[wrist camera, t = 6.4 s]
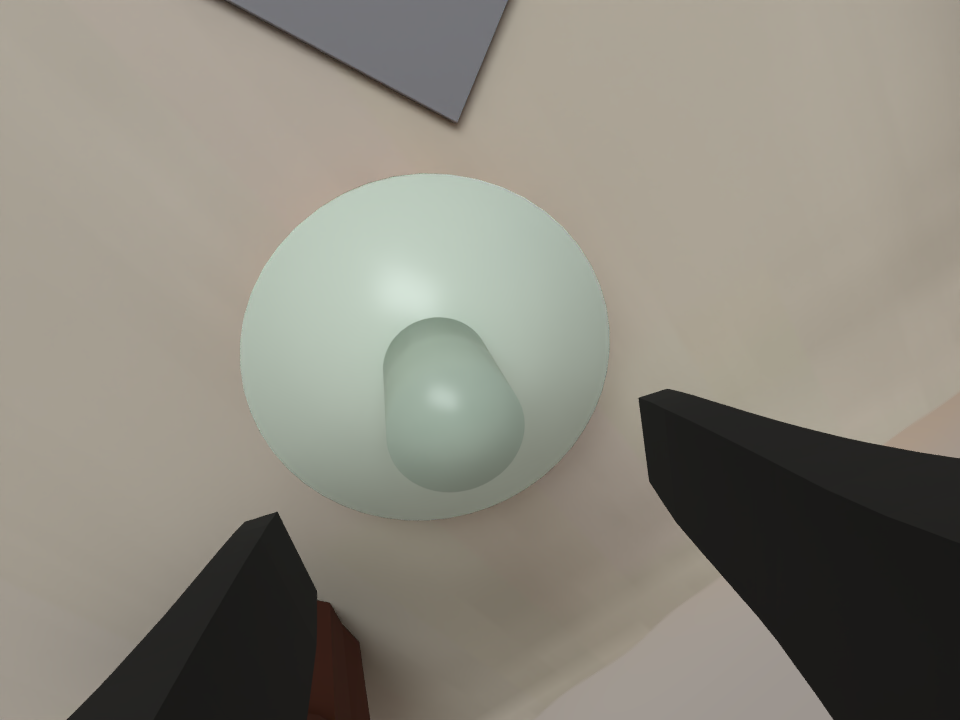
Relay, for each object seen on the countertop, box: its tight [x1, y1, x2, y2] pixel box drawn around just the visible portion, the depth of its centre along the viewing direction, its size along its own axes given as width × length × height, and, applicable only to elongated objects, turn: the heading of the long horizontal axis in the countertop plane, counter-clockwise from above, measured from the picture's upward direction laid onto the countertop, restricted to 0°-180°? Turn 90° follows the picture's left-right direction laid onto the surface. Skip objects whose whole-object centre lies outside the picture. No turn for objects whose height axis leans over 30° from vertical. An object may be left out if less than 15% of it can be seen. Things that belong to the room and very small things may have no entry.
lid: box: [240, 173, 609, 520], centre depth 14 cm, size 11×11×5 cm
